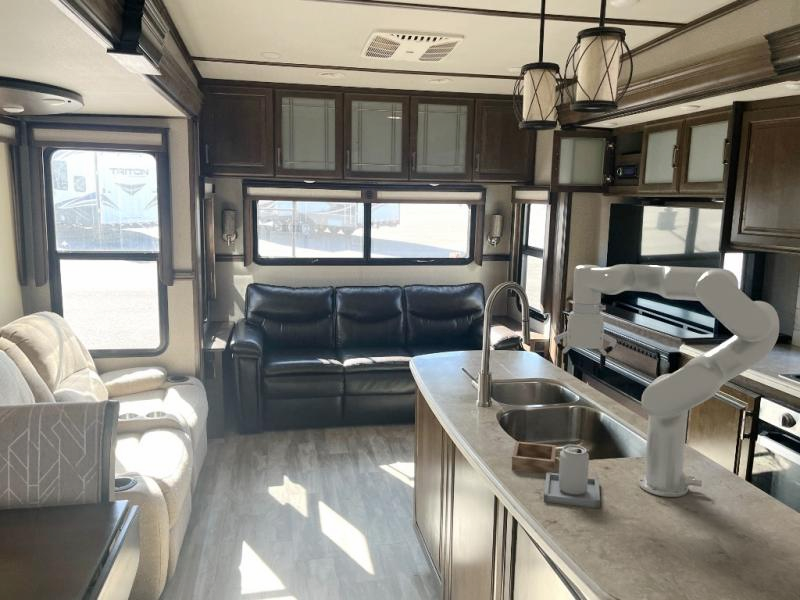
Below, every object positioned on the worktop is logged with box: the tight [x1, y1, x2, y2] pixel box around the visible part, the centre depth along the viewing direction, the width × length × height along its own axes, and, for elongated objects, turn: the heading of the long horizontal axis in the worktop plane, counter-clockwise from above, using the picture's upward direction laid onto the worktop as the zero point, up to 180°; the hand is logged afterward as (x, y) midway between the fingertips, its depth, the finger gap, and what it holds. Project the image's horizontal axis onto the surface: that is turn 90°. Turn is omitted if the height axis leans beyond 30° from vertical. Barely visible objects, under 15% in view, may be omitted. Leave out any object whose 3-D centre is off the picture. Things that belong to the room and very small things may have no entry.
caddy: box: [511, 441, 557, 475], centre depth 185 cm, size 12×12×4 cm
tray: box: [543, 472, 601, 509], centre depth 167 cm, size 14×14×2 cm
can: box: [558, 444, 590, 496], centre depth 166 cm, size 8×8×12 cm
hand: (583, 366), depth 179 cm, fingers open, 9 cm apart
